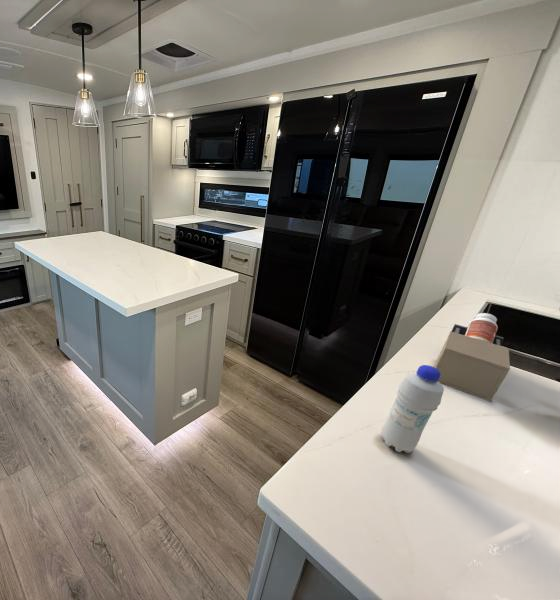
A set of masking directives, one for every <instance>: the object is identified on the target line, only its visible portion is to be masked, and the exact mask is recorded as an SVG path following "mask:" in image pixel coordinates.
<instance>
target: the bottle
mask: <svg viewBox="0 0 560 600" xmlns="http://www.w3.org/2000/svg"><path fill="white" fill-rule="evenodd" d="M439 378H440V372H439V370H437V369H436V368H434V366H432V365H428V364H422V365H420V366H419V367H418V368H417V370H416V372H410V373H407V374H406V376H405V377H404V378H403V380H402V381H401V382H400V384H399V385H398V389H397V391H396V393H397V394H396V395H397V396H396V398H395V400H394V403H393V405H392V407H391V409H390V412H389V414H388V416H387V418H386V419H385V421H384V422H383V424H382V426H381V430H380V438H381V440H383V441H384V444H385V445H386V446H387V447H388V448H389V447H391V446H393V447H394V450H395V452H398V453H401V452H404V453H406V454H408V453H411V452H413V451H414V450H415V448H416V447H418V444H419V442H420V439H421V436H422V434H423V432H424V430H425V427H426V425H427V424H428V422H429V420H430V418H431V417H432V414H433V413H434V412H435V411H437V410H438V408H439V406H440V405H441V402H442V398H443V396H444V391H445V389H444V386H443V385H442V383H440V382H438V380H439Z"/></svg>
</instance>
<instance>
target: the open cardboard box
mask: <svg viewBox="0 0 560 600" xmlns="http://www.w3.org/2000/svg"><path fill="white" fill-rule="evenodd" d="M451 331H452V330H451ZM451 331H449V333H448V335H447V338H446V340H445V342H444V344H443V346H442V347H441V350H440V352H439V354H438V356H437V358H436V360H435V363H434V366H433V367H434V368H436V369H437V370H439V372H440V378H439V380H438V382H439V383H440V384H443V385H445V386H448V387H451V388H453V389H456V390H459V391H461V392H464V393H467V394H469V395H471V396H474V397H476V398H480V399H482V400H485V401H488V402H492V399H493V398H494V396H495V395H496V394H497V392H498V390H499V388H500V387H501V385H502V384H503V381H504V380H505V378H506V377H507V375H508V374H509V372H510V370H511V363H510V362H511V361H510V349H509V347H505V346H503V345H500V346H499V345H496V344H492V343H489V342H485V341H482V340H479V339H475V338H472V337H468V336H465V335H461V334H458V333H455V332H451Z"/></svg>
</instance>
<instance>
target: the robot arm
mask: <svg viewBox="0 0 560 600" xmlns="http://www.w3.org/2000/svg"><path fill="white" fill-rule="evenodd" d="M554 300H556V301H558V302H560V292H558V293H556V295H555V297H554ZM558 311H560V306H559V308H558Z"/></svg>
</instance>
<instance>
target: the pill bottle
mask: <svg viewBox="0 0 560 600" xmlns="http://www.w3.org/2000/svg"><path fill="white" fill-rule="evenodd" d="M497 321H498V318H497V317H496V316H495V315H493V314H491V313H488V312H487V313H486V312H480V313H477V314H476V315H475V317H474V318H473V319H471V320H470V321H469V323H468V326H467V327H468V328H467V331H466V333H465V336H468V337H472V338H475V339H479V340H482V341H485V342H489V343H493V340H494V338H495V335H496V336H497V332H498V328H499V327H498V325H497Z"/></svg>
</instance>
